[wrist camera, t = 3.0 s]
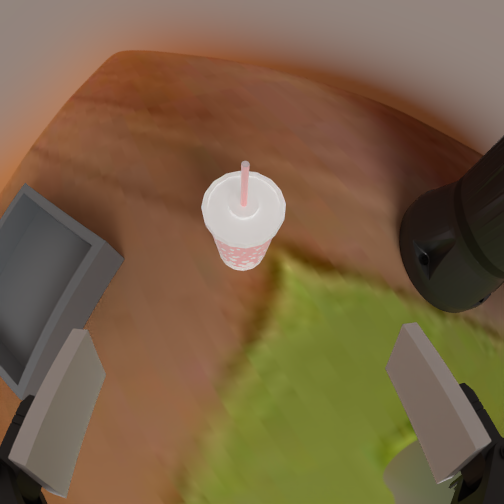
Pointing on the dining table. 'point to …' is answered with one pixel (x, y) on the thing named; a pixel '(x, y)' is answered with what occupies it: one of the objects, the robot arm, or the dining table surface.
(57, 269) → the tote
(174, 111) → the dining table surface
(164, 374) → the dining table surface
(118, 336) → the dining table surface
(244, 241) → the beverage cup
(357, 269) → the dining table surface
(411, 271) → the robot arm
